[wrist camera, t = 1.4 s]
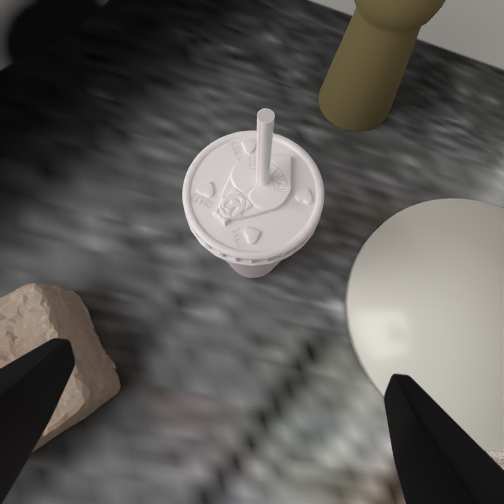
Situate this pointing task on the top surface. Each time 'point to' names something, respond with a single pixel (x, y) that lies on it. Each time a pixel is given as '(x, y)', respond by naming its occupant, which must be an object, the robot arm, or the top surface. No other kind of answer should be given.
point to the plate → (436, 309)
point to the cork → (372, 61)
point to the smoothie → (253, 198)
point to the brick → (66, 327)
